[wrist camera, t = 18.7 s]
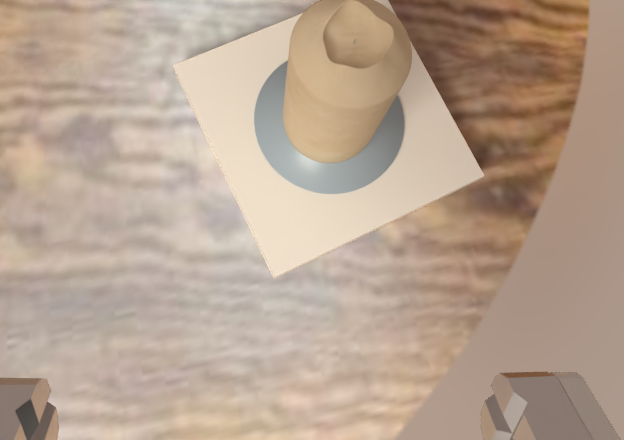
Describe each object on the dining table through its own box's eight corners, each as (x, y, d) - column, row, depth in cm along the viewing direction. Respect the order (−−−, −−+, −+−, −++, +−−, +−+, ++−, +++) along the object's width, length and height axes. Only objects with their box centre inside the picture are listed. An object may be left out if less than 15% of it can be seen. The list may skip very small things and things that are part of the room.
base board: (273, 279, 33) (274, 277, 31) (176, 76, 34) (172, 63, 33) (475, 182, 35) (485, 175, 33) (373, -4, 37) (379, -20, 35)
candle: (278, 79, 33) (285, -25, 23) (368, 74, 34) (412, -29, 24) (286, 168, 32) (297, 98, 22) (379, 161, 33) (429, 91, 23)
